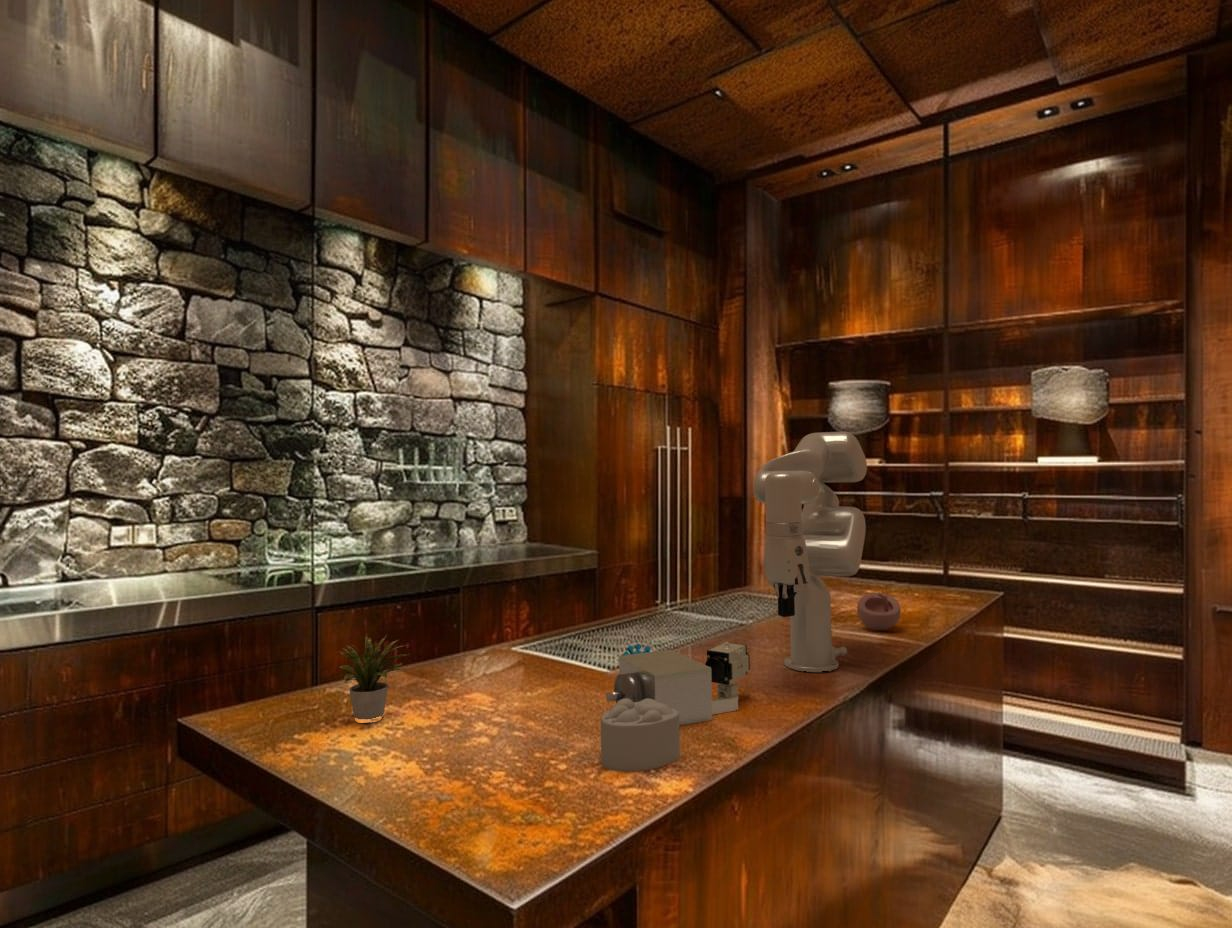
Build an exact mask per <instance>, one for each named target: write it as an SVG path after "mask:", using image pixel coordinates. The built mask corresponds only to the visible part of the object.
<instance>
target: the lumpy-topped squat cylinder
mask: <svg viewBox="0 0 1232 928" xmlns="http://www.w3.org/2000/svg"><path fill="white" fill-rule="evenodd" d="M680 739H681V738H680V726H679V713H678V711H676V710H674V709H671V708H670V707H669V706H668V705H666V704H663V703H660V702H656V701H655V700H653V699H649V698H647V699H644V700H642V701H640V702H635V703H633V701H632V700H630V699H627V698H625V699H621V700H619V701H618V702H617V703H616V702H615V704H614V706H613V707H610V708H609V709H608V710H607V711H605V712H603V714H602V715H601V717H600V764H601V766H603V768H605V769H607V770H611V771H616V772H625V773H626V772H628V773H629V772H644V771H645V772H646V771H651V770H654V769H658V768H663V767H664V766H667V765H670V764H672V763H675V762H676V760H677V761H678V760H679V759H680V758H679V757H681V753H680V751H681V747H680V745H681V744H680Z"/></svg>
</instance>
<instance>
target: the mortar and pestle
mask: <svg viewBox="0 0 1232 928" xmlns="http://www.w3.org/2000/svg"><path fill="white" fill-rule="evenodd" d="M857 615H858V618H859V619H860V621H861V622H862V624H863V625H865V626H866V627H867V628H868V629H871V630H874V631H878V632H883V631H888V630H890V629H892V628H893V627H895V625H896V624H897V623H898V622H899V619H900V618H901V605H900V603H899V601H898V600H897V599H896V598H895V597H894V596H891V595H889V594H885V593H881V592H870V593H866V594H864V595H862V596H860V598H859V599H858V602H857Z"/></svg>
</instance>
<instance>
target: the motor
mask: <svg viewBox="0 0 1232 928" xmlns="http://www.w3.org/2000/svg"><path fill="white" fill-rule="evenodd" d="M622 655H623V654H622ZM622 655H619V656H618V672H619V673H618V674H617V675H616V678H615V680H614V685H613V691H611V692H606V693H605V699H606V701H607V702H614V701H615V704H616V703H617V702H618V701H619V700H621V699H625V698H627V699H630V700H632V701H633V703H635V702H640V701H642V700H644V699H647V698H649V699H653V700H655V701H656V702H660V703H663V704H666V705H668V706H669V707H670V708H671V709H674V710H676V711H678V713H679V727H680V726H685V725H691V724H696V723H702V722H708V721H712V720H713V715H717V714H723V713H725V714H726V713H731V712H736V710H737V711H739V699H738V697H736V696H732V697H726V698H720V699H717V698H715V699H713V694H712V693H713V691H712V690H713V689H712V688H713V686H712V683H713V682H712V677H711V667H709V666H706V665H705V663H702V662H700V661H697V660H695V659H693V658H690V657H689V656H686V655H684V654H681V653H680V652H677V651H675V650H673V649H666V650H658V651H649V652H646V653H639V654H629V655H623V656H622Z"/></svg>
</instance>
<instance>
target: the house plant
mask: <svg viewBox="0 0 1232 928" xmlns="http://www.w3.org/2000/svg"><path fill="white" fill-rule="evenodd" d="M387 636H388V634H386V635H385V636H384V637H383V638H382V639H381V640H380V642H378V644H377V645H376V646H375V648H374V646H373V644H372V638H371V637H368V634H367V633H366V634H365V637H364V638H365V639H364V653H363V655H362V653H361V651H360V649H359V648H358V647H357V646H355V645H354V644H353V645H352V644H350V645H349V644H346V647H347V648H348V650H350V652H349V651H348V650H347V649H345V648H343V650H344V651H337V652H335V653H337V654H338V653H340V654H341V655H342V656H343V657H345V658H346V659H347V660H348V661H349V662H350V663H351V664H352V665H353V666H351V665H348V664H344V665H341V666H339V669H343V670H345V671H348V672H350V674H349V673H346V674H344V677H343V680H344V682H343V684H345V683H346V682H349V681H351V680H353V677H354V680H355V681H356V682H357V683H358V684H355V685H353V686H350V688H349V694H350V695H349V696H350V700H351V705H352V712H353V718H354V717H355V718H358V719H372V718H376V717H379V716H382V715H383V714H385V709H386V704H387V703H386V702H387V695H388V689H389V684H388V683H387V682H383V681H382V679H381V678H382V677H383V678H385V680H386V681H388V680H387V679H388V674H389V673H390V672H394V671H402V672H403V670H402V666H401V663H397V664H396V663H395V664H389V665H387V664H388V663H389V662H391V661H394V660H397V659H399V658H401V657H405V656H409V655H411V653H407V654H406V653H405V654H396V655H393V656H390V655H391V654H393V653H395V652H401V650H399V649H398V648H401V647H403V645H400V646H396V647H394V648H392V647H393V645H395V643H397V642H398V641H399V639H396V640H394V641H392V642H391V643H389V644H388V645H387V646H386V647H385V649H384V650H383V651H382V650H381V649H380V648H381V646H382V644H383V643H384V641H385V640H386V638H387ZM351 646H352V647H351ZM407 646H408V645H407V644H406V645H404V647H407ZM353 647H354V648H355V649H356V650H357V651H358V653H359V654H358V653H357V651H356V650H355V649H354V648H353ZM390 649H391V650H390ZM395 649H398V650H395ZM381 651H382V652H381ZM379 652H381V653H380V654H379V656H378V653H379ZM389 656H390V657H389ZM360 657H361V658H360ZM377 657H378V658H377ZM384 657H385V658H384ZM386 665H387V666H386ZM398 667H400V668H401V669H400V668H398ZM388 668H390V669H388Z"/></svg>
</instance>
